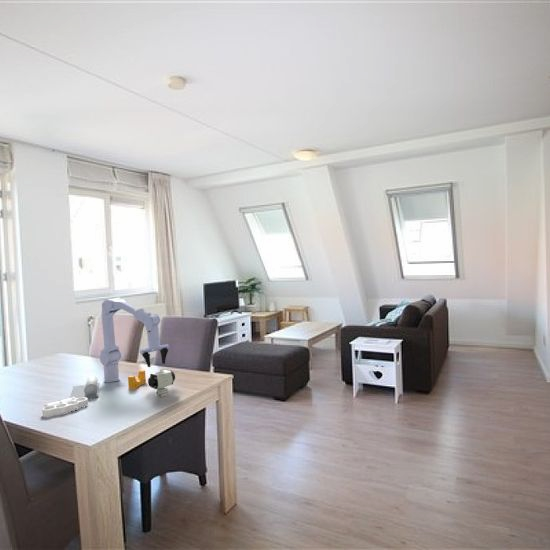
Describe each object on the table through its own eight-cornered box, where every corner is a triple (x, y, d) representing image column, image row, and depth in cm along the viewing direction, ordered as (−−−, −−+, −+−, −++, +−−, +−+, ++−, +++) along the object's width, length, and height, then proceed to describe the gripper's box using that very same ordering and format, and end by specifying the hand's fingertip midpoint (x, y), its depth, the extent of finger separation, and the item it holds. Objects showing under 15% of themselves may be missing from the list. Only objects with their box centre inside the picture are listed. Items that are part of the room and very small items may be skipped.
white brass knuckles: (79, 400, 187) (92, 408, 176) (36, 412, 174) (47, 421, 163) (79, 393, 186) (92, 400, 176) (35, 404, 173) (47, 412, 163)
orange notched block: (138, 382, 211) (137, 370, 211) (145, 382, 210) (145, 370, 210) (125, 389, 199) (124, 376, 199) (133, 390, 198) (132, 377, 198)
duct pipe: (73, 388, 204) (72, 376, 204) (99, 384, 209) (98, 372, 208) (69, 402, 184) (68, 388, 183) (98, 397, 188) (97, 384, 188)
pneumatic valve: (148, 398, 185) (147, 372, 185) (170, 391, 194) (169, 366, 193) (155, 400, 181) (153, 374, 181) (177, 393, 190) (176, 368, 190)
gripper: (142, 342, 198) (145, 369, 198) (170, 336, 207) (173, 362, 207) (137, 340, 203) (140, 367, 203) (164, 335, 212) (167, 361, 212)
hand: (156, 365), depth 206 cm, fingers open, 7 cm apart
